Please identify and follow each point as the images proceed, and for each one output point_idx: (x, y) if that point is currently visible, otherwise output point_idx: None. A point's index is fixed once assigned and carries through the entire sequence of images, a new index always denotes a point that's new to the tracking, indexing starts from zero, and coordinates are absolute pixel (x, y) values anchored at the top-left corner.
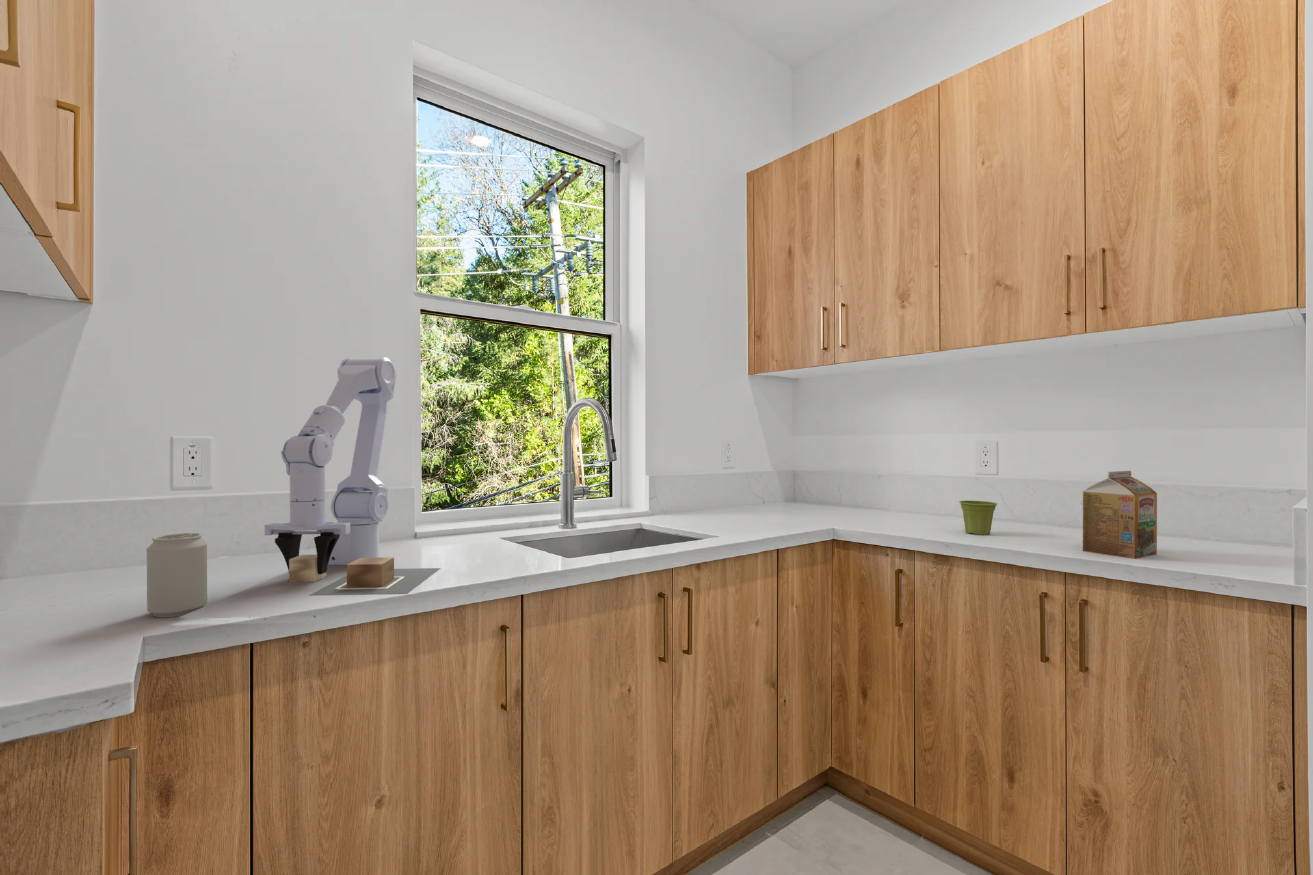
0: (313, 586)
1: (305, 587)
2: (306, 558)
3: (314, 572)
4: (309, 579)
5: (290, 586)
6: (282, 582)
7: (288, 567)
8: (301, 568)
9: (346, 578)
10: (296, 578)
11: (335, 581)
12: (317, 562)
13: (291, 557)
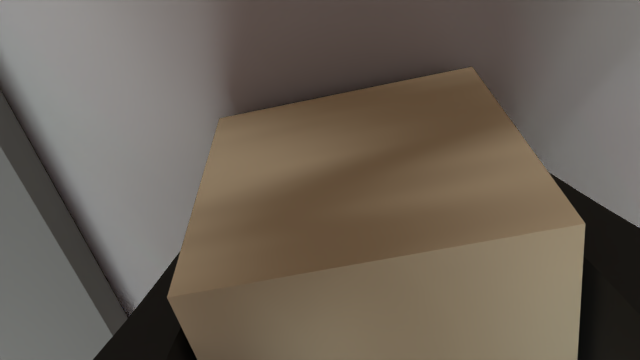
0: (221, 92)
1: (270, 44)
2: (344, 320)
3: (203, 178)
4: (268, 129)
5: (452, 57)
6: (616, 176)
7: (573, 194)
8: (363, 178)
9: (19, 267)
10: (406, 104)
11: (4, 158)
12: None
13: (602, 310)
